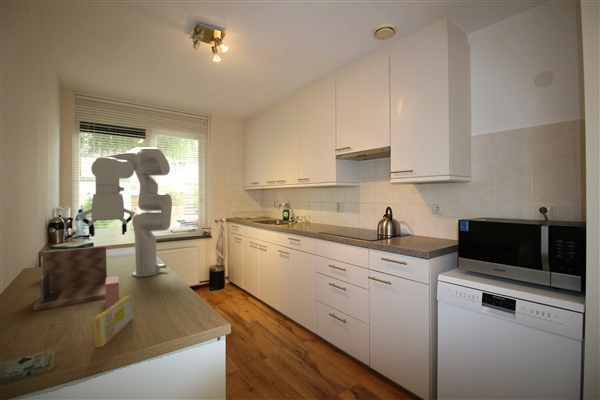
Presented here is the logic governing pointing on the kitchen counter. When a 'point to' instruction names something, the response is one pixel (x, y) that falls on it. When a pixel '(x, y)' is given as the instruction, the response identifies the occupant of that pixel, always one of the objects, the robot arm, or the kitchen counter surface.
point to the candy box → (112, 320)
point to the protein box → (70, 246)
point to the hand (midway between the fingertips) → (108, 235)
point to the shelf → (75, 275)
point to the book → (112, 290)
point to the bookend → (47, 290)
